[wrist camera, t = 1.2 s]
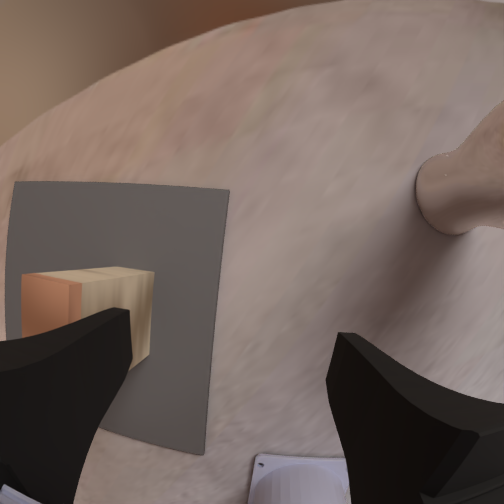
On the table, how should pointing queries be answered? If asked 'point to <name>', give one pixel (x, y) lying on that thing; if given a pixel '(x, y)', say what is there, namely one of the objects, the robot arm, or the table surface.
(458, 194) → the beer glass
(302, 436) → the table surface
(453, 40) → the table surface
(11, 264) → the rubber mat
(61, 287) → the birch block
